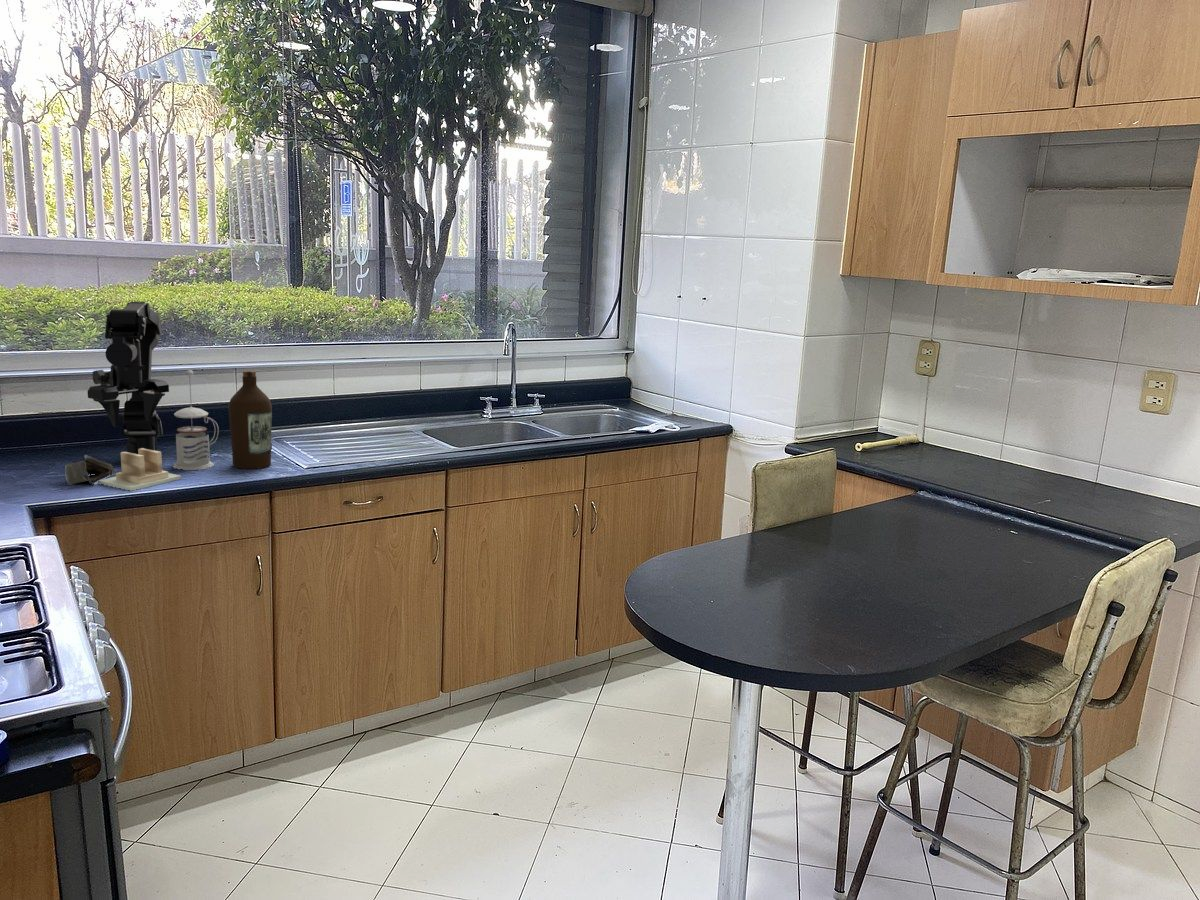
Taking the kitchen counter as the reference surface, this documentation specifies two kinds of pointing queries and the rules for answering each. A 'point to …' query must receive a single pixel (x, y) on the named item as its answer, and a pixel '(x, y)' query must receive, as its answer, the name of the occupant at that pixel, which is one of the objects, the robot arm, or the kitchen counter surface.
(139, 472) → the wooden slotted holder
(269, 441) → the olive oil
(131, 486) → the sage board
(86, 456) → the chocolate cake
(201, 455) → the french press
